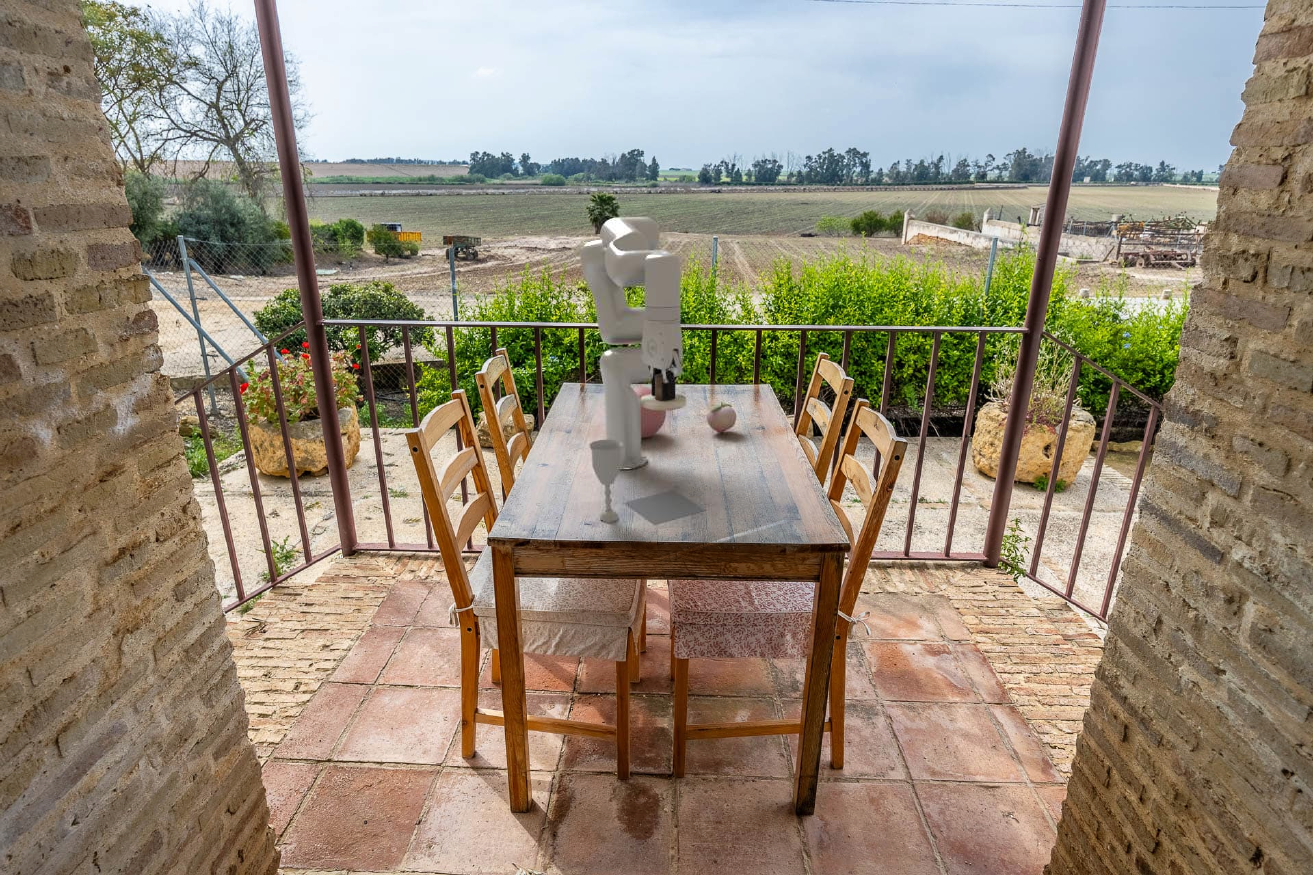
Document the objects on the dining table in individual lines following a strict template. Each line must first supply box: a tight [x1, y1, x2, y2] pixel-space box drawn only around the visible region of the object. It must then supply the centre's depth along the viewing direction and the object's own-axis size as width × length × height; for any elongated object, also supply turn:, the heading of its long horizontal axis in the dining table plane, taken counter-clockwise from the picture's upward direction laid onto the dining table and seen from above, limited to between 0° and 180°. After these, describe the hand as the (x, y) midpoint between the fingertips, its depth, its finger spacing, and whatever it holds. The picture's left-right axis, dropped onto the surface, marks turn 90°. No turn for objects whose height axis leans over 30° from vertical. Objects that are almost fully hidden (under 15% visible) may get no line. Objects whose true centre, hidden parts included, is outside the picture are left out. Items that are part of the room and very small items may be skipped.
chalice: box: [588, 439, 623, 523], centre depth 154 cm, size 7×7×18 cm
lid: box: [641, 374, 687, 411], centre depth 153 cm, size 10×10×6 cm
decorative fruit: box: [706, 401, 737, 434], centre depth 212 cm, size 9×8×10 cm
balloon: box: [631, 386, 667, 439], centre depth 212 cm, size 15×20×15 cm
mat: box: [623, 489, 707, 526], centre depth 162 cm, size 14×14×1 cm
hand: (663, 396), depth 154 cm, fingers closed on lid, 3 cm apart
